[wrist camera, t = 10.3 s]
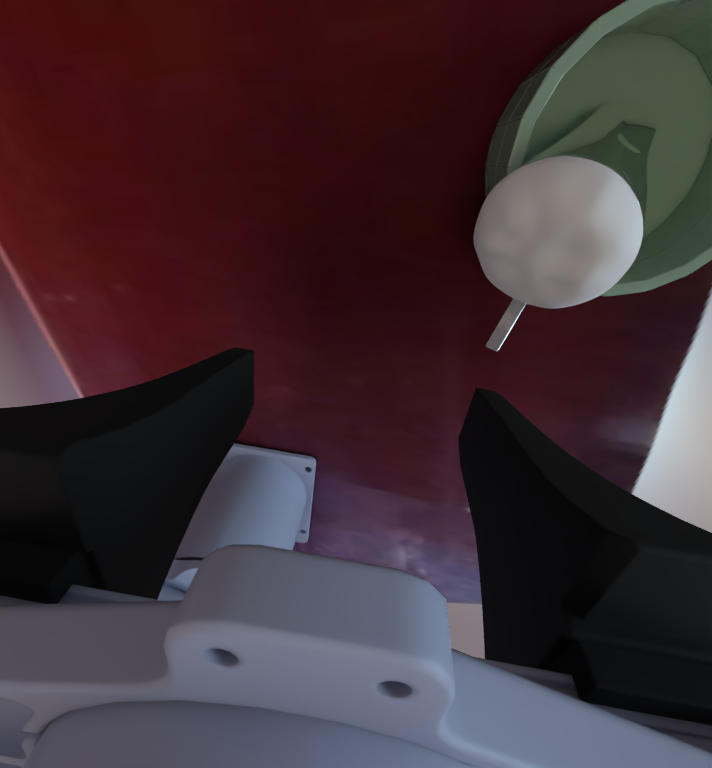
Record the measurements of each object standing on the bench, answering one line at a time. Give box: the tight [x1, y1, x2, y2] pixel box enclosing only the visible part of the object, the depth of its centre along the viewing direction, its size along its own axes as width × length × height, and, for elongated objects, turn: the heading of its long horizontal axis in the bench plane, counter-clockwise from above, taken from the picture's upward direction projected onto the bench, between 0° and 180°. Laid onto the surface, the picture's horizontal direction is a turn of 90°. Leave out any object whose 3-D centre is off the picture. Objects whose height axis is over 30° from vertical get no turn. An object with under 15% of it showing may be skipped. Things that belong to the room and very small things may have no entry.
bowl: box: [485, 0, 712, 296], centre depth 15 cm, size 9×9×4 cm
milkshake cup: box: [473, 100, 663, 351], centre depth 13 cm, size 4×5×10 cm
